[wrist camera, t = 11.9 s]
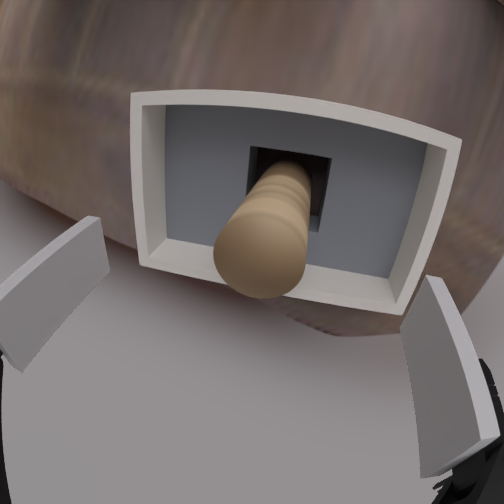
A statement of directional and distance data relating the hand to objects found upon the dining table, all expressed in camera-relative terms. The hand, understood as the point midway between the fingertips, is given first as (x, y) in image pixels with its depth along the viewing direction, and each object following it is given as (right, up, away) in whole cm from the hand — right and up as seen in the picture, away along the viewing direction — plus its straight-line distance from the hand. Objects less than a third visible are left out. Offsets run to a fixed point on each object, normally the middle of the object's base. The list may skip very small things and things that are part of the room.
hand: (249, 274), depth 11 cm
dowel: (+3, +7, +14) cm, 16 cm away
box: (+3, +7, +14) cm, 16 cm away
